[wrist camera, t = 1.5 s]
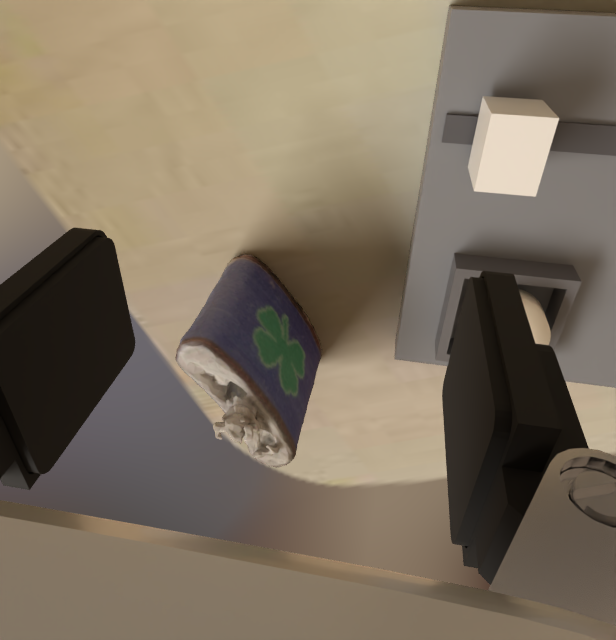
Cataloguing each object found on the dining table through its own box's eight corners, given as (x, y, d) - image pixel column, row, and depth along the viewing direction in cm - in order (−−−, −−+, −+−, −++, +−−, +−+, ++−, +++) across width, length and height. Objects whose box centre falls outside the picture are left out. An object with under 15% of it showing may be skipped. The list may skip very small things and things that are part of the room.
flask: (220, 261, 31) (147, 377, 23) (259, 243, 30) (198, 357, 21) (297, 369, 35) (260, 502, 27) (334, 356, 34) (308, 491, 25)
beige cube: (482, 96, 21) (491, 113, 19) (542, 99, 21) (558, 118, 19) (467, 166, 23) (473, 191, 21) (522, 171, 23) (535, 196, 20)
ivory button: (470, 283, 25) (473, 300, 24) (554, 292, 25) (561, 310, 24) (455, 346, 28) (457, 364, 27) (531, 355, 27) (537, 375, 26)
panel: (449, 5, 22) (454, 12, 19) (897, 25, 20) (979, 37, 17) (395, 339, 32) (393, 376, 29) (684, 375, 30) (713, 419, 27)
